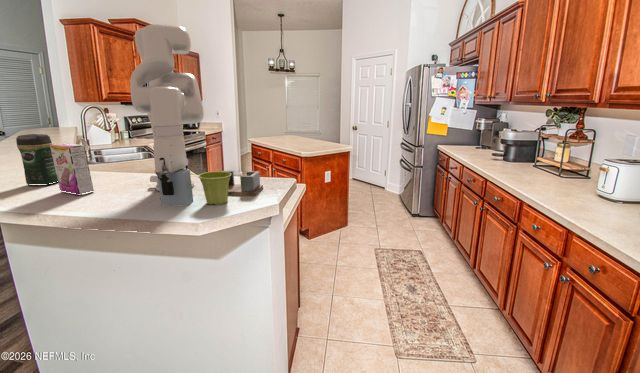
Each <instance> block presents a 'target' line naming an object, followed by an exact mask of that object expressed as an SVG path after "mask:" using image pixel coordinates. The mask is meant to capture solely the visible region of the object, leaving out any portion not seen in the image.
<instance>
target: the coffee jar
mask: <svg viewBox="0 0 640 373" xmlns="http://www.w3.org/2000/svg"><path fill="white" fill-rule="evenodd" d="M15 141H16V147H17V149H18V151H19V152H20V157H21V161H22V166H23V169H24V176H25V182H26V185H27V184H49V183H53V182H57V181H58V179H57V174H56V170H55V166H54V162H53V158H52V154H51V149H50V145H52V144H53V143H52V139H51V137H50V136H49V135H48V134H41V133H40V134H39V133H29V134H21V135H17V137H16V138H15Z"/></svg>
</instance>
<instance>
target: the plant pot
mask: <svg viewBox="0 0 640 373" xmlns="http://www.w3.org/2000/svg"><path fill="white" fill-rule="evenodd" d="M223 171H224V170H220V171H219V170H218V171H207V172H203V173H200V174H198V178H199V180H200V182H201V185H202V189H203V192H204V197H205V200H206V204H208V205H215V206H216V205H217V206H218V205H223V204H225V203H227V202H228V198H229V195H228V187H229V180H230V176H231V173H229V172H223Z"/></svg>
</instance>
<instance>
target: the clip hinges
mask: <svg viewBox="0 0 640 373" xmlns="http://www.w3.org/2000/svg"><path fill="white" fill-rule="evenodd" d="M222 171H223V172H229V173H231V176H230V180H229V186H234V185H235V174H234V172H235V171H234V170H222ZM239 177H240V179H239V180H240V185H241V191H255V190H256V189H257V188H258V187H259V186H260V185H261V178H260V171H259V170H256V171H253V170H252V171H251V170H250V171H249V170H248V171H246V175H240V176H239Z"/></svg>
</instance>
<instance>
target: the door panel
mask: <svg viewBox="0 0 640 373" xmlns="http://www.w3.org/2000/svg"><path fill="white" fill-rule="evenodd" d="M166 171H169V170H166ZM165 175H166V176H167V177H168V174H165ZM156 176H157V175H156ZM157 177H158V176H157ZM191 181H192V178H191V170H190V169H188V170H178V171H176V172H173V173H172V178H171V182H173V188H174V195H163V193H162V185H161V182H160V179H159V178H158V184H159V191H158V192H159V196H160V197H159V198H160V204H161V206H179V207H181V206H182V207H183V206H184V207H187V206H189V205H191V204H192V203H193V202H194V195H193V187H192V184H191Z"/></svg>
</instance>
